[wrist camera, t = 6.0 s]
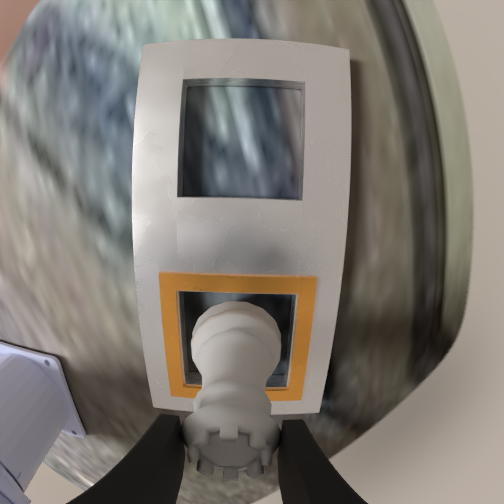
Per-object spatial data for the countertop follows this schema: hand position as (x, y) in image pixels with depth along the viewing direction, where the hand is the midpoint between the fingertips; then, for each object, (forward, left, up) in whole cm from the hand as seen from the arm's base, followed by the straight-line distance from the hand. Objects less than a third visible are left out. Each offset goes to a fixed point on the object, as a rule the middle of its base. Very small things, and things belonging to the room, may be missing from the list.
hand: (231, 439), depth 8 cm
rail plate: (0, +5, -8) cm, 9 cm away
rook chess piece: (0, 0, -7) cm, 7 cm away
